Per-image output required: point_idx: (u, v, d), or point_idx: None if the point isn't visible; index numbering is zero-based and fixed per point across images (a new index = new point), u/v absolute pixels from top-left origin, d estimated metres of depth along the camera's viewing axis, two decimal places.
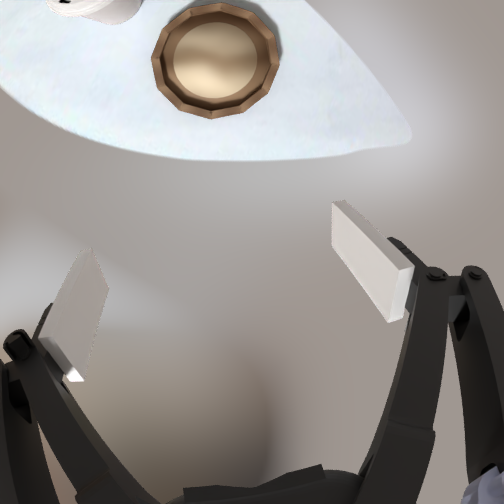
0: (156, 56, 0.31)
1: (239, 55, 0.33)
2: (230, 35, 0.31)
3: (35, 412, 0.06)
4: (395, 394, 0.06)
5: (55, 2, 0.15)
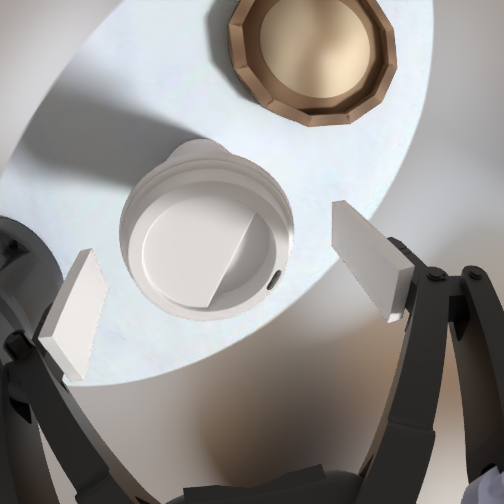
0: (307, 119, 0.25)
1: (314, 13, 0.20)
2: (282, 18, 0.20)
3: (35, 412, 0.06)
4: (395, 394, 0.06)
5: (267, 294, 0.16)
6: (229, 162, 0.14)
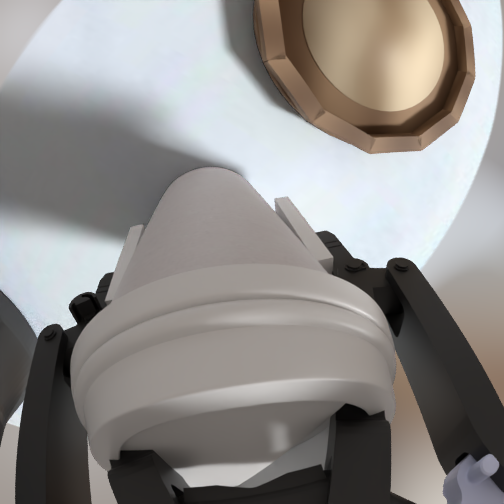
0: (369, 142, 0.16)
1: None
2: None
3: None
4: None
5: None
6: (303, 302, 0.05)
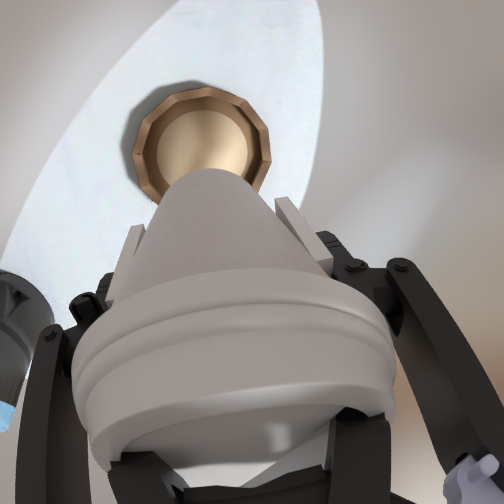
0: None
1: (197, 129, 0.33)
2: (172, 139, 0.33)
3: None
4: None
5: None
6: (304, 306, 0.05)
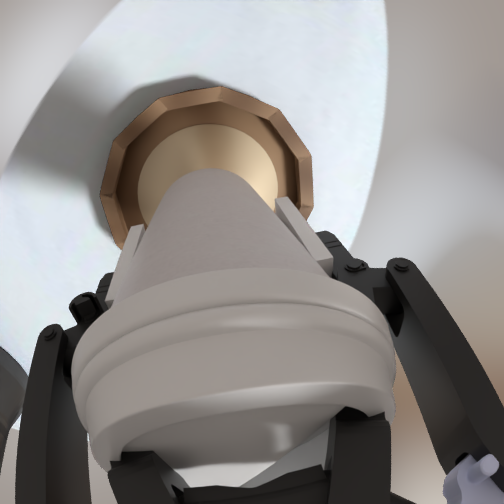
0: None
1: (200, 155, 0.21)
2: (161, 171, 0.21)
3: None
4: None
5: None
6: (304, 306, 0.05)
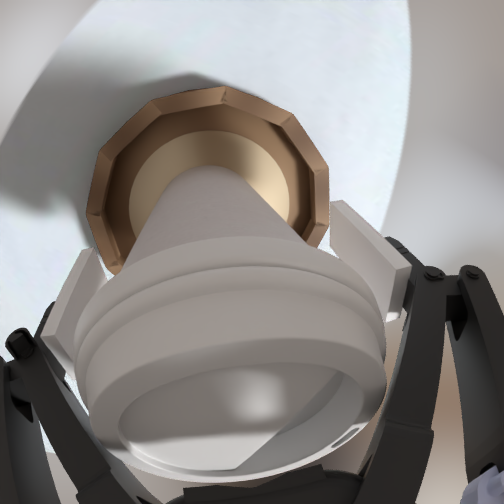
0: None
1: None
2: (155, 185, 0.18)
3: (37, 411, 0.07)
4: (393, 394, 0.06)
5: (330, 450, 0.09)
6: (292, 269, 0.06)
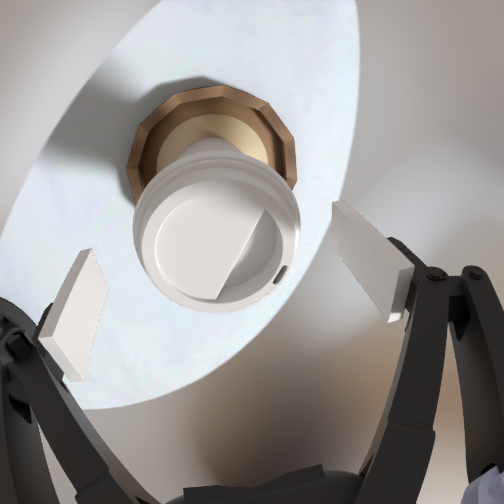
0: None
1: None
2: (175, 150, 0.27)
3: (35, 412, 0.06)
4: (395, 394, 0.06)
5: (274, 289, 0.17)
6: (240, 161, 0.14)
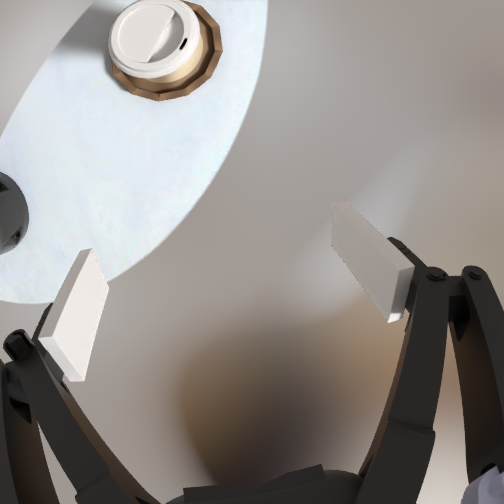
0: (157, 96, 0.38)
1: None
2: None
3: (35, 412, 0.06)
4: (395, 394, 0.06)
5: (180, 53, 0.24)
6: None
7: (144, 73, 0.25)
